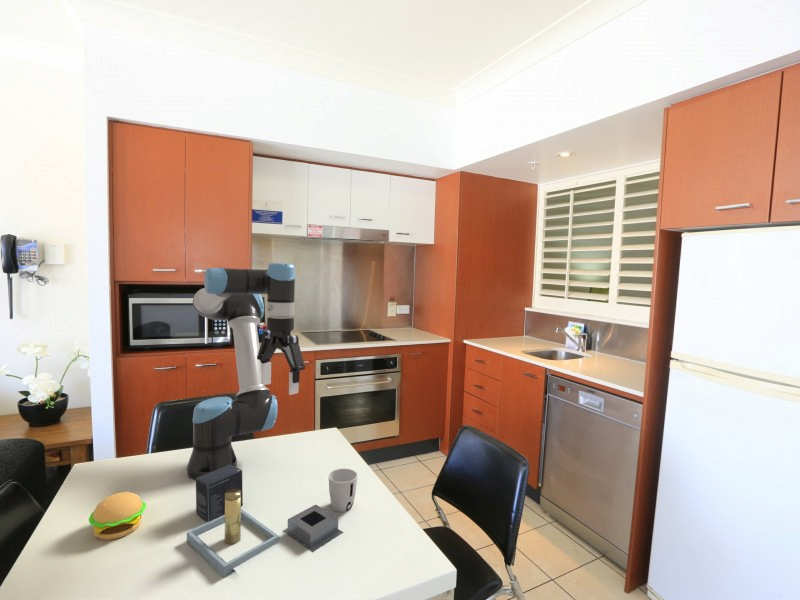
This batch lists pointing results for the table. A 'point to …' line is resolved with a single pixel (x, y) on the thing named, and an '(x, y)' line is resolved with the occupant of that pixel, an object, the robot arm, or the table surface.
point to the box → (216, 491)
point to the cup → (342, 489)
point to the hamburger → (117, 515)
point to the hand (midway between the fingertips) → (279, 388)
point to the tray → (228, 567)
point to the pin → (232, 516)
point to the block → (313, 527)
